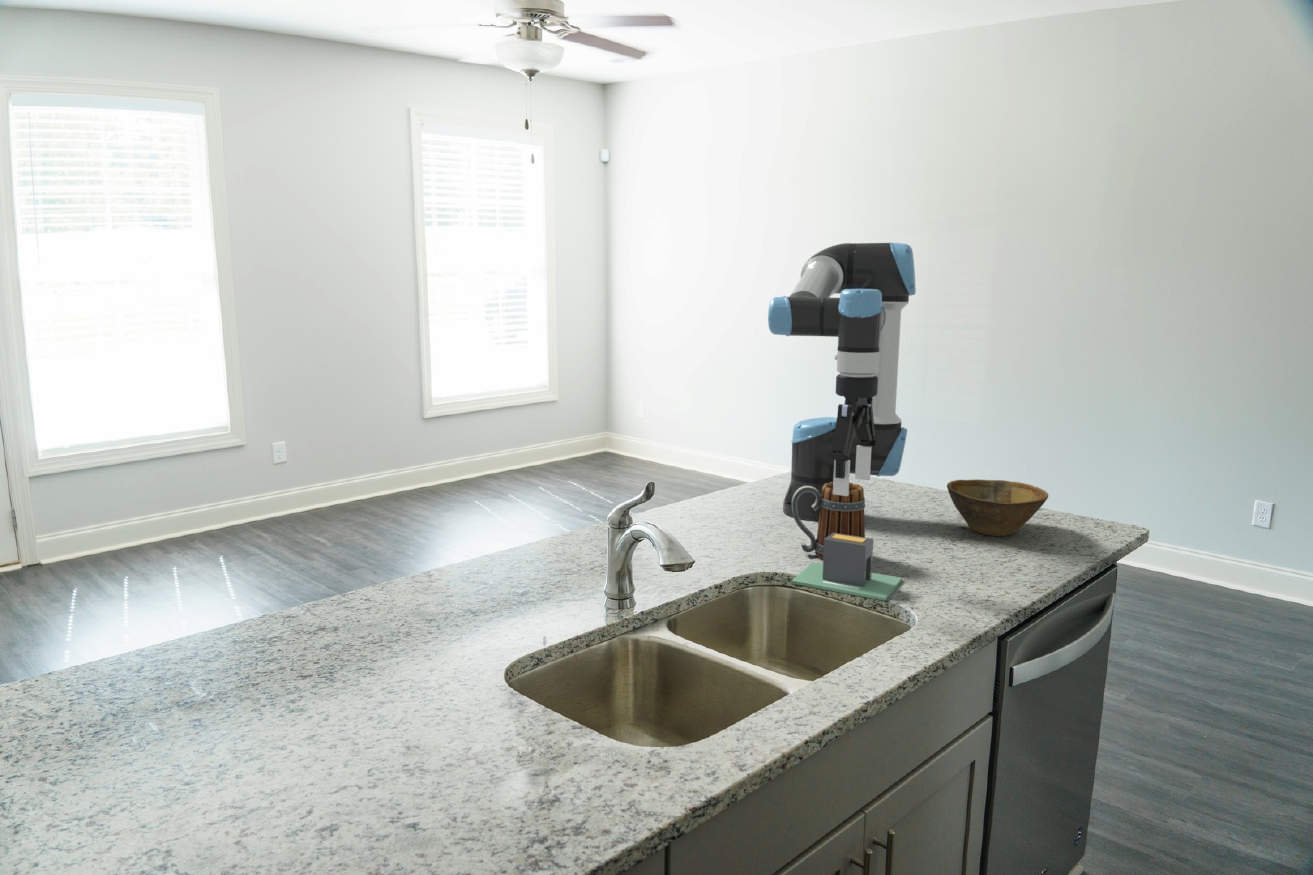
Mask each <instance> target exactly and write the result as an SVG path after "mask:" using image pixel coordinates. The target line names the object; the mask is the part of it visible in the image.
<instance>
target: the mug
mask: <svg viewBox="0 0 1313 875" xmlns="http://www.w3.org/2000/svg"><path fill="white" fill-rule="evenodd" d="M805 492H811V493H813V494H815V496H816V501H815V503H814V504H813V505H812V508H813V509H814V510H815V511H816V510H817V509H818V508H819V507H820V514H819V520H818V521H817V522H818V524H817V530H816V534H817V535H816V537H815V535H814V533H813V532H812V531H811V530H810V529H809V528H808V527H807V526H806V525H805V524H804V523H803V521H802V519H800V518H799V516H798V511H797V501H798V499H799V497H800V495H801V494H803V493H805ZM864 494H865V493H864V487H863V486H862V485H860V484H859V483H854V482H850V481H849V495H848V496H842V495H835V494H833V482H830V483H826V484H824V486H823V488H822V495H820V493H819V491H818V490H817V489H816V488H814V487H812V486H802V487H800V488H799V489H798V490H797V491H796V492H795V493H794V495H793V498H792V512H793V516H794V517H793V519H794V522H795V523H796V525H797V526H798V528H799V529H800V530H801V531H802V532H803V533H804V535H806V536H807V537H808V538H809V540H810V544H809V545H807V542H800V546H801V548H802V551H803V552H805V553H812V552H813V551H814V554H815V555H816V556H817V557H818V558H820V559H821V560H823V556H824V539H825V538H826V537H828V536H829V535H830V534H832V533H839V534H846V535H852V536H859V537H865V538H866V534H865V530H866V528H865V527H866V525H865V523H866V522H865V508H866V503H865V502H866V500H865V499H866V498H865V496H864Z"/></svg>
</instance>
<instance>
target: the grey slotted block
mask: <svg viewBox="0 0 1313 875" xmlns="http://www.w3.org/2000/svg"><path fill="white" fill-rule="evenodd" d="M873 550H874V538H872V537H871V538H870V537H866V536H865V537H859V536H852V535H846V534H839V533H832V534H830V535H829V536H828V537H826V538H825V539H824V556H823V559H822V564H823V580H829V581H834V582H840V583H845V584H851V585H856V586H862V587H864V586H865V583H866V580H869V581H870V580H871V576H872V573H873V572H872V571H873V557H874V556H873V555H874V554H873V553H874V551H873Z"/></svg>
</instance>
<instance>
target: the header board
mask: <svg viewBox="0 0 1313 875" xmlns="http://www.w3.org/2000/svg"><path fill="white" fill-rule="evenodd" d="M902 582H903V577H899V576H894V575H893V576H892V575H888V574H883V573H882V574H881V573H875V572H872V576H871V580H870V581H869V580H866V583H865V586H864V587H862V586H856V585H851V584H845V583H840V582H834V581H829V580H823V563H816V562H812V563H810V564H809V565H808V566H807V567H806V568H804V569H803V570H802V571H801V572H800V573H799V574H797V575H796V576H795V577H793V579H791V581H790V584H792V585H797V586H802V587H807V588H808V587H809V588H814V589H819V590H823V591H825V590H826V591H830V592H837V593H841V594H846V595H851V596H857V597H862V598H868V599H875V600H879V601H884V602H886V601H887V600H888V599H889V598H890V596H891V595H892V594H893V592H894V591H895V590H896V589H897V587H898V586H899V585H900V584H901V583H902Z"/></svg>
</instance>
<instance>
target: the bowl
mask: <svg viewBox="0 0 1313 875" xmlns="http://www.w3.org/2000/svg"><path fill="white" fill-rule="evenodd" d="M946 488H947V491H948V494H949V496H950V498H951V501H952V502H953V505H954V507H955V509H956V510H957V511H958V513H959V514H960V515H961V517H962V518H963V519H964V521H965V522H966V524H967V525H968V528H969V529H970V530H971V531H973V532H974V533H978V534H982V535H986V536H994V537H1004V536H1005V537H1006V536H1010V535H1011V536H1012V535H1013V534H1014V533H1015V532H1016V531H1018V529H1021V528H1022V526H1024V525H1025V524H1026V523H1027V522H1028V521H1029V520H1030V519H1032V518H1033V516H1034V515H1035V514H1036V513H1037V512H1038V511H1039V510H1040V509H1041V508H1042V506H1043V505H1044V504H1045V503H1046V501H1047V500H1048V498H1049V493H1048V492H1047V491H1046V490H1044V489H1042V488H1040V487H1038V486H1034V485H1032V484H1029V483H1024V482H1019V481H1010V480H1002V479H998V480H997V479H955V480H950V481H949V482H948V483H947V485H946Z"/></svg>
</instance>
